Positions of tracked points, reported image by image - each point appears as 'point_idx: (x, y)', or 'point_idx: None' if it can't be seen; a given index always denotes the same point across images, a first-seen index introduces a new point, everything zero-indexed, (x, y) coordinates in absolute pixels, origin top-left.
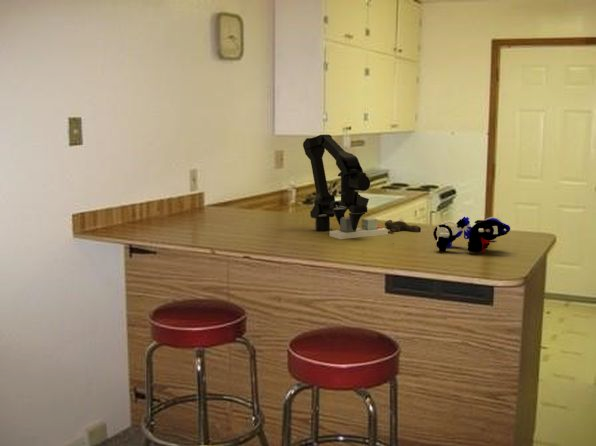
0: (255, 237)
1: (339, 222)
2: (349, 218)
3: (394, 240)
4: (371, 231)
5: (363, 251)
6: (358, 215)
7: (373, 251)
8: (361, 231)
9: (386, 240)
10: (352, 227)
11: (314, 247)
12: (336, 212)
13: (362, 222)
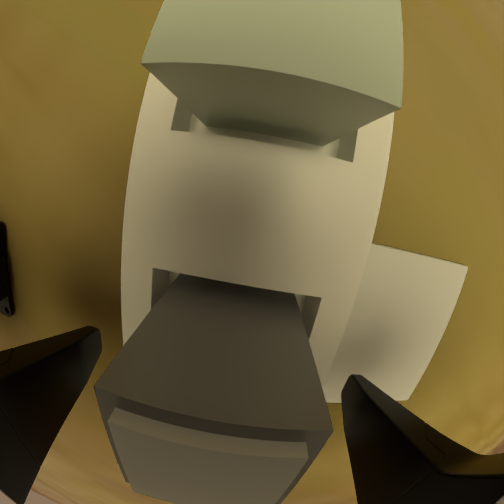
0: (49, 460)
1: (79, 392)
2: (276, 495)
3: (487, 115)
4: (387, 143)
5: (475, 415)
6: (463, 492)
7: (501, 389)
8: (348, 266)
9: (470, 146)
10: (349, 423)
11: (297, 498)
12: (26, 482)
13: (189, 88)
